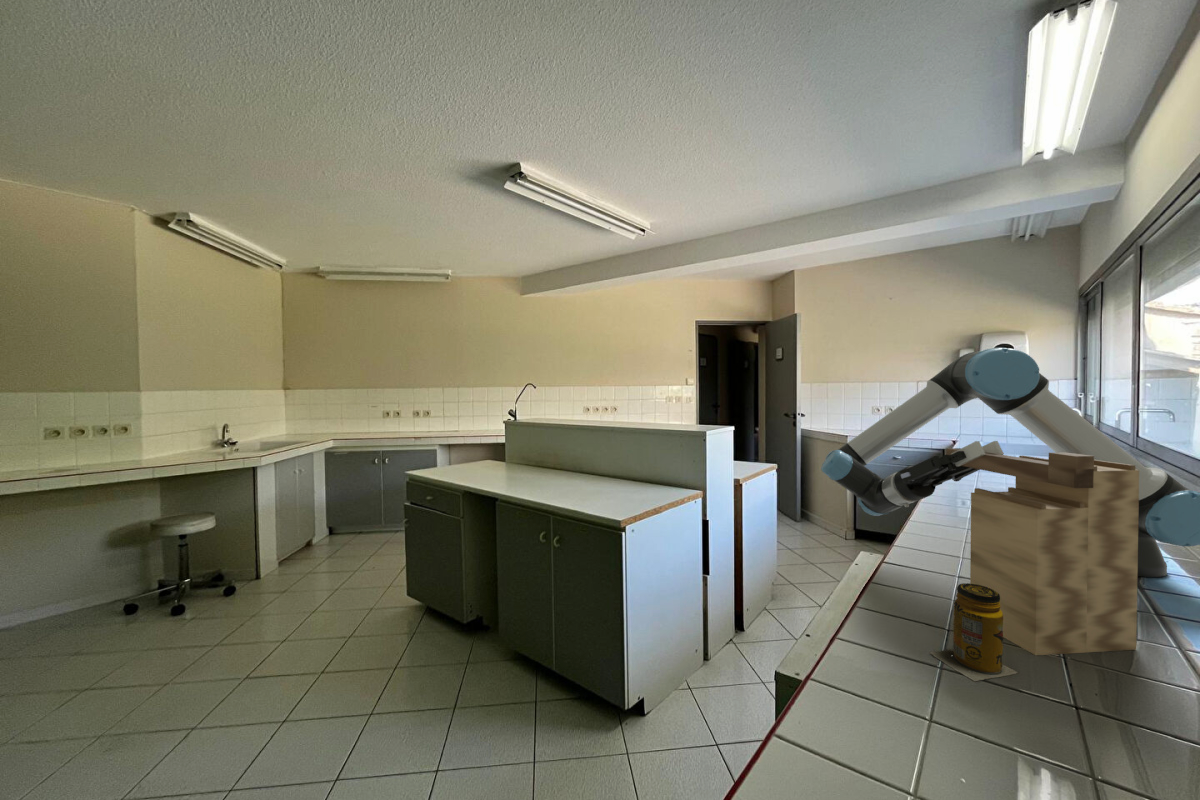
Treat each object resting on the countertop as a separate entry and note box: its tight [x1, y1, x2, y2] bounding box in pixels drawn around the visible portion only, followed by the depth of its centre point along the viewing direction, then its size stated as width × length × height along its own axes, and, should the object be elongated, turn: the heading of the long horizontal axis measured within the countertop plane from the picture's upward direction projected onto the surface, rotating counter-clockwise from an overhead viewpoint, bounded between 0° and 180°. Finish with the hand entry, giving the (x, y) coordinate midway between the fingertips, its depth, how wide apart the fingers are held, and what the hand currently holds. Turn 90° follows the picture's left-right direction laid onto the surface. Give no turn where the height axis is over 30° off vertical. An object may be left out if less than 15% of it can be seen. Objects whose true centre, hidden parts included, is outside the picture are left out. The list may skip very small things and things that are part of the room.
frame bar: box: [945, 447, 1094, 488], centre depth 82 cm, size 3×24×5 cm, turn 4°
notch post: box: [969, 455, 1139, 656], centre depth 80 cm, size 18×12×31 cm, turn 94°
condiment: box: [929, 582, 1019, 682], centre depth 71 cm, size 7×8×12 cm
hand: (989, 447), depth 86 cm, fingers closed on frame bar, 3 cm apart
